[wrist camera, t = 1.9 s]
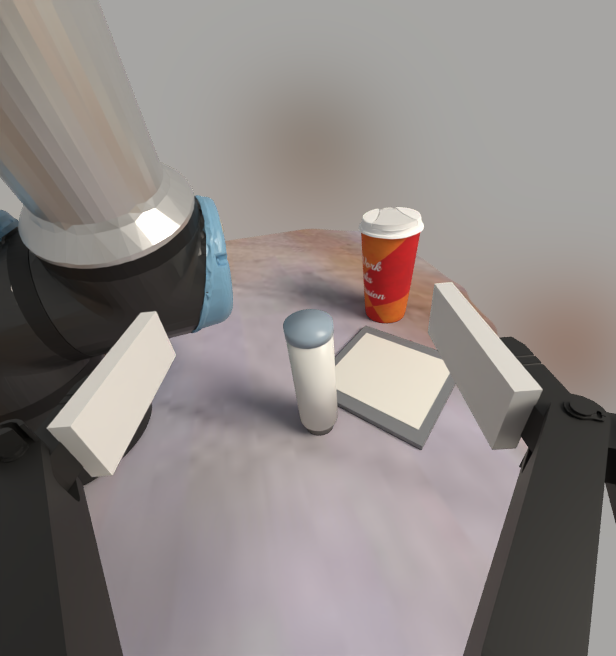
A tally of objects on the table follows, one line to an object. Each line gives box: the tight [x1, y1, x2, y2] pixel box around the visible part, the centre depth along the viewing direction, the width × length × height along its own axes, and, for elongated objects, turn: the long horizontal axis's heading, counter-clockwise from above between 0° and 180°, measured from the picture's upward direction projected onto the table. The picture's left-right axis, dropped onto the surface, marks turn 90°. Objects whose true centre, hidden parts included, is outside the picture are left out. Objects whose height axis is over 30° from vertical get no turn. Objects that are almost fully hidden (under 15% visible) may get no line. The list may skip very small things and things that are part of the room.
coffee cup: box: [359, 207, 424, 323], centre depth 44 cm, size 8×8×15 cm
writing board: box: [335, 326, 456, 450], centre depth 38 cm, size 14×14×1 cm
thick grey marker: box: [283, 309, 338, 435], centre depth 30 cm, size 4×4×14 cm
